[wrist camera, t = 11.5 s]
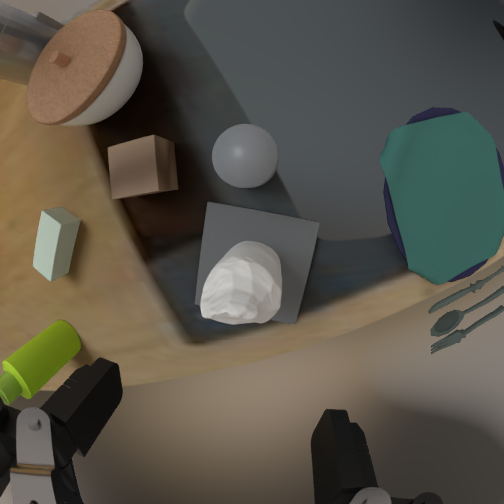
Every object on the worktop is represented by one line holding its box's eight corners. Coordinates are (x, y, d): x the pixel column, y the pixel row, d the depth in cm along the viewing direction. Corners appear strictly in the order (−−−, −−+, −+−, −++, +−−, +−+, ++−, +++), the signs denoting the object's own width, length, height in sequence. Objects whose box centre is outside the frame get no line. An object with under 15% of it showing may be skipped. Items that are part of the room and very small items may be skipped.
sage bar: (62, 206, 28) (42, 210, 24) (81, 219, 28) (61, 224, 25) (51, 258, 30) (32, 266, 26) (69, 272, 30) (50, 282, 27)
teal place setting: (475, 101, 20) (485, 98, 18) (505, 304, 27) (513, 310, 24) (350, 129, 24) (356, 125, 22) (406, 362, 30) (412, 371, 28)
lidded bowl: (125, 28, 22) (78, -10, 11) (182, 71, 23) (136, 23, 13) (62, 101, 25) (4, 86, 14) (106, 155, 26) (37, 149, 15)
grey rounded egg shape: (231, 134, 25) (218, 120, 19) (281, 142, 25) (283, 129, 19) (222, 183, 26) (206, 182, 20) (272, 191, 26) (271, 193, 20)
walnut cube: (133, 151, 26) (107, 147, 21) (174, 142, 25) (153, 134, 21) (137, 196, 27) (112, 199, 22) (178, 189, 27) (158, 190, 22)
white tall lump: (201, 367, 16) (169, 291, 15) (230, 297, 28) (214, 246, 27) (292, 353, 16) (269, 268, 14) (287, 284, 27) (273, 231, 26)
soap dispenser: (71, 360, 34) (1, 432, 15) (49, 324, 33) (-32, 387, 14) (90, 354, 33) (13, 437, 14) (67, 315, 32) (-25, 386, 13)
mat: (209, 201, 26) (207, 201, 26) (319, 222, 26) (319, 222, 25) (196, 302, 29) (194, 304, 29) (294, 321, 29) (295, 324, 28)
